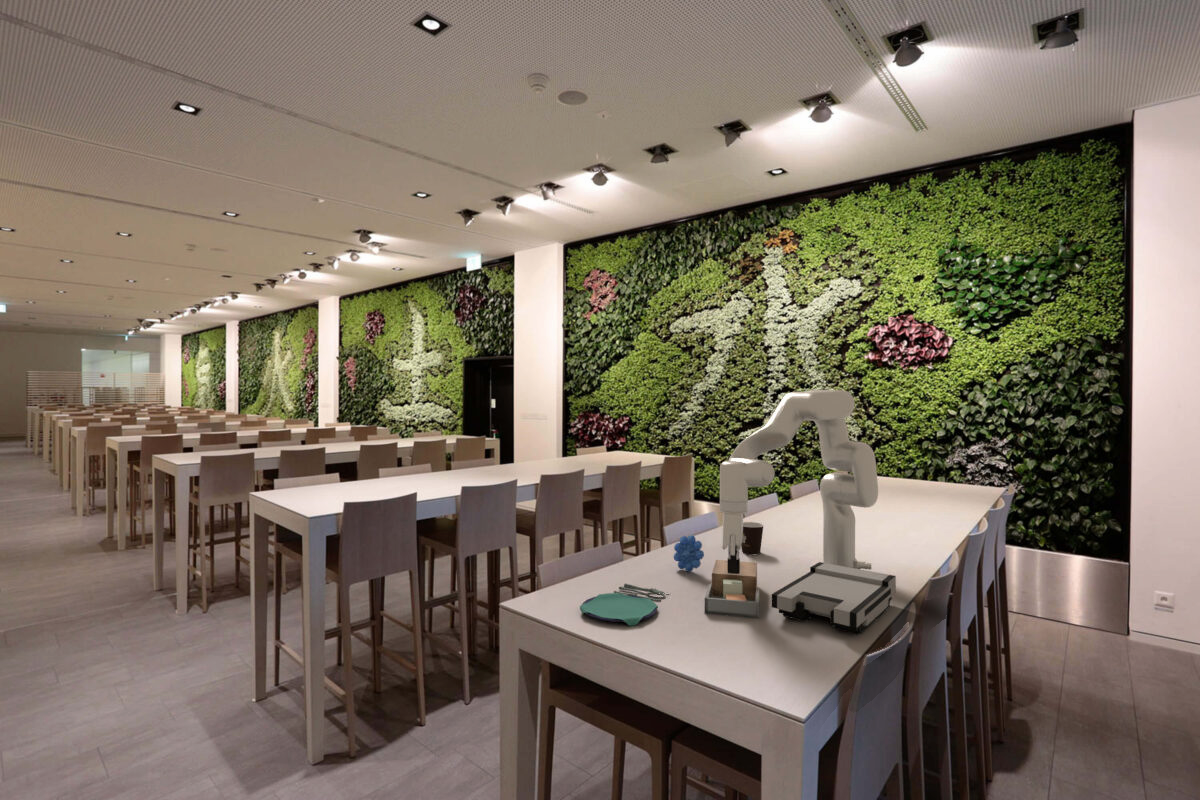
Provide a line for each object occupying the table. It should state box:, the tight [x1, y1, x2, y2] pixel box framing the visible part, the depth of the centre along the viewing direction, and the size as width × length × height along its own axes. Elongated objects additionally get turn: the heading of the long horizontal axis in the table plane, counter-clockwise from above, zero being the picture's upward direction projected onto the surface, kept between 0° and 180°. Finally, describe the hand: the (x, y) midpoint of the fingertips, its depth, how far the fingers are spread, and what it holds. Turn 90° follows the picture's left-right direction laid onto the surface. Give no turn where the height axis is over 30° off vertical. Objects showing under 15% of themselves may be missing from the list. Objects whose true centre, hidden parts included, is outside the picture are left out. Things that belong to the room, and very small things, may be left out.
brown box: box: [711, 559, 758, 599], centre depth 175 cm, size 12×14×7 cm
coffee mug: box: [741, 521, 764, 555], centre depth 219 cm, size 12×9×10 cm
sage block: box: [723, 579, 742, 599], centre depth 166 cm, size 5×5×4 cm
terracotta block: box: [726, 594, 746, 601], centre depth 160 cm, size 5×5×2 cm
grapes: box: [673, 534, 705, 573], centre depth 195 cm, size 12×7×12 cm, turn 45°
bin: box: [704, 583, 760, 619], centre depth 162 cm, size 14×12×4 cm
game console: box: [771, 561, 897, 635], centre depth 159 cm, size 21×32×8 cm, turn 139°
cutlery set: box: [579, 583, 670, 627], centre depth 164 cm, size 20×30×2 cm, turn 151°
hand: (733, 572), depth 167 cm, fingers closed
